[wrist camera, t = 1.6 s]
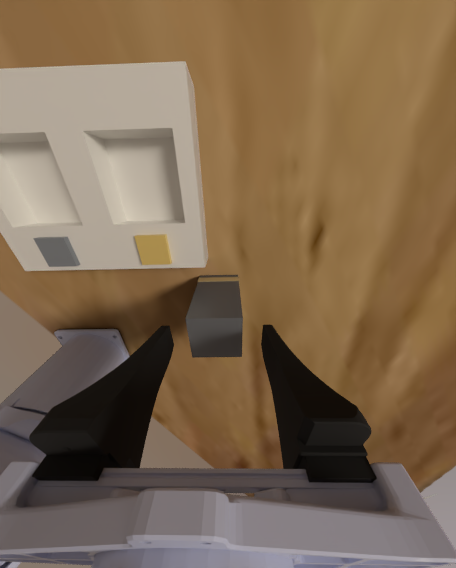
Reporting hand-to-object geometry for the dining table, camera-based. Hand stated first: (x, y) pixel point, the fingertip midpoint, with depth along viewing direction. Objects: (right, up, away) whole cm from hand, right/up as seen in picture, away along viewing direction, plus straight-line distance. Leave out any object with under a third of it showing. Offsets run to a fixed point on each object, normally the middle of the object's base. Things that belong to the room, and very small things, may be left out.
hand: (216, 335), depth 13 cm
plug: (0, +3, +6) cm, 7 cm away
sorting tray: (-9, +12, +1) cm, 15 cm away
